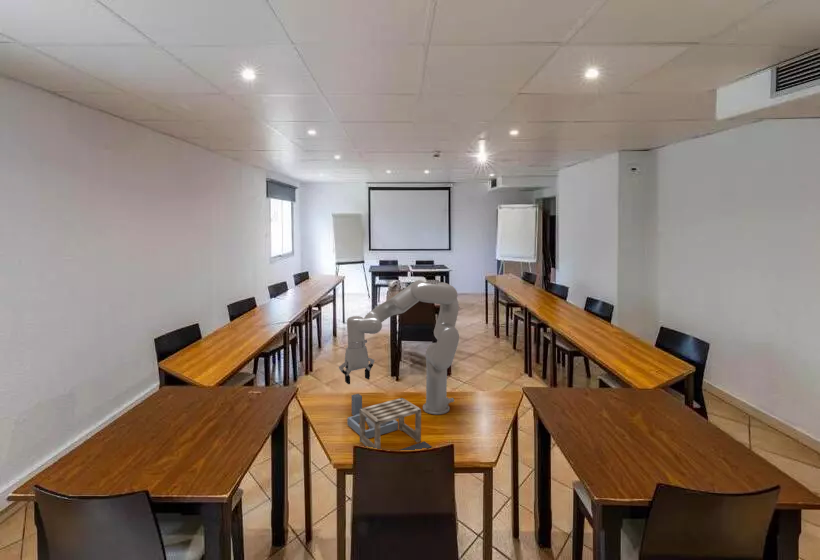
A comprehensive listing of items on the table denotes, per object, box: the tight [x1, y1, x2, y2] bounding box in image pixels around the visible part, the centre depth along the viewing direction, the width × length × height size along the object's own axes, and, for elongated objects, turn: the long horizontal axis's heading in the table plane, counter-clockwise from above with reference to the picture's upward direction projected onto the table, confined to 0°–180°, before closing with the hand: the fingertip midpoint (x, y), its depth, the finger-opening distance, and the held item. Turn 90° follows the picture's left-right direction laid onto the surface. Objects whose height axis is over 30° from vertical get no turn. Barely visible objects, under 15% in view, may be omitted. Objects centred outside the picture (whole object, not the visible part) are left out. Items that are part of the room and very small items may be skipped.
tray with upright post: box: [346, 393, 399, 440], centre depth 183 cm, size 16×24×9 cm, turn 34°
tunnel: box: [359, 397, 422, 449], centre depth 168 cm, size 20×14×14 cm
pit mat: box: [399, 441, 433, 450], centre depth 163 cm, size 12×5×1 cm, turn 124°
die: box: [365, 410, 387, 430], centre depth 178 cm, size 8×9×10 cm
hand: (357, 381), depth 190 cm, fingers open, 9 cm apart
